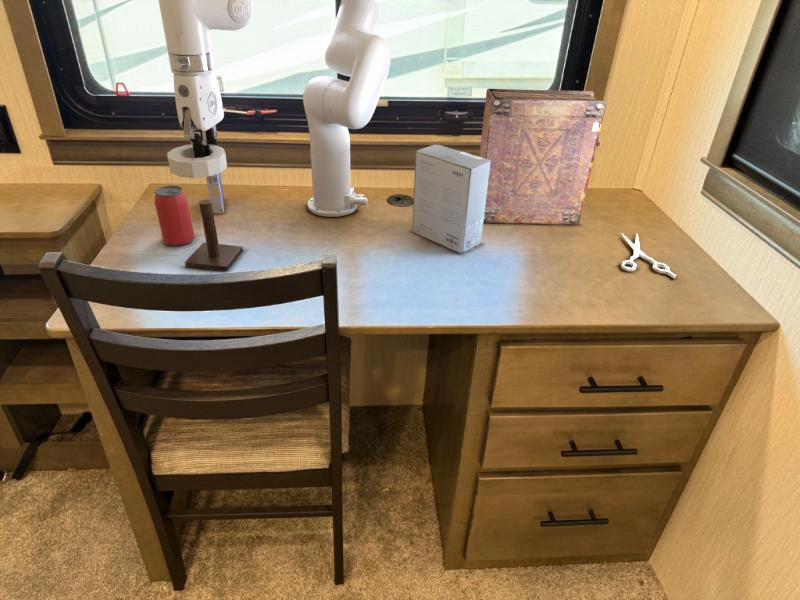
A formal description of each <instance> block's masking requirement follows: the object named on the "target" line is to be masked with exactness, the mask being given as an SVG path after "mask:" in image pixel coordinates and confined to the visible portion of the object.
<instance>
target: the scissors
mask: <svg viewBox="0 0 800 600" xmlns="http://www.w3.org/2000/svg"><path fill="white" fill-rule="evenodd" d="M620 234H621V235H622V237H623V238H624V240H625V241H626V243H627V244H628V246H629V247H630V248H631V249H632V250H633V253H632V256H630V257H629V259H627V260H623V261H622V262H621V264H620V267H621V269H622V270H624V271H625V272H634V271H635V270H636V269H637V263H636V262H634V260H636V259H638V258H642V259H643V260H646V261H648V262H650V264H652V267H651V268H652V269H653V270H654V271H655V272H657V273H660V274H665V275H667V276H669V277H671V278H672V279H675V278H676V277H677V274H676V273H674V272H672V271H671V270H670V267H669V266H668V265H667V264H665V263H663V262H659V261H656V260H654V258H653V257H649V256H648V255H646V254H645V252H643V251H642V250H641V245H640V240H639V235H638V234H636V235H635V240H634V241H635V242H634V243H633V242H632V241H631V240H630V238H629V239H628V237H627V236H626V235H625V234H623V233H622V232H620ZM625 265H628V266H625ZM629 265H630V267H629ZM660 267H661V268H660Z"/></svg>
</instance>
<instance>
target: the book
mask: <svg viewBox="0 0 800 600" xmlns="http://www.w3.org/2000/svg"><path fill="white" fill-rule="evenodd" d="M485 93H486V94H485V101H484V109H483V120H482V129H481V137H480V145H479V154H478V155H479V156H478V157H481V158H484V159H488V160H491V162H490V170H489V178H488V187H487V196H486V204H485V212H484V221H483V224H509V225H510V224H512V225H514V224H515V225H550V226H553V225H554V226H579V225H580V222H581V217H582V212H583V209H584V204H585V199H586V194H587V190H588V187H589V182H590V177H591V173H592V168H593V166H594V165H593V164H594V161H595V160H594V159H595V156H596V151H597V148H598V144H599V143H598V142H599V137H600V134H601V129H602V125H603V121H604V116H605V113H606V109H607V108H606V107H607V102H606V101H604V100H597V98H595V97H594V95H595V93H594V91H591V90H562V89H561V90H555V89H553V90H552V89H550V90H549V89H522V88H521V89H519V88H518V89H517V88H516V89H515V88H487V89H486V92H485Z"/></svg>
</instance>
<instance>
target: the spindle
mask: <svg viewBox="0 0 800 600" xmlns="http://www.w3.org/2000/svg"><path fill="white" fill-rule="evenodd" d="M198 205H199V210H200V216H201V221H202V228H203V233H204V238H205V242H202V243H201V244H200V245H199V247H197V248H196V250H195V251H194V252H193V253H192V254H191V255H190V256H189V257H188V258H187V259H186V260H185V262H184V266H185V268H190V269H197V270H207V271H208V270H209V271H217V272H228V271H229V269H230V268H231V267H232V266H233V265H234V263H235V262H236V261H237V260H238V258H239V257H240V256H241V254H242V253H243V252H244V248H243V246H242V245H232V244H224V243H219V237H218V232H217V227H216V220H215V216H214V214H215V213H213V208H212V202H211V200H210V199H202V200H199V202H198Z"/></svg>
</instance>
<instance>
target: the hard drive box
mask: <svg viewBox="0 0 800 600" xmlns="http://www.w3.org/2000/svg"><path fill="white" fill-rule="evenodd" d="M414 155H415V156H414V179H413V181H414V182H413V205H412V228H411V232H412V233H414V234H417V235H419V236H420V237H423V238H424V239H428V240H430V241H432V242H434V243H437V244H439V245H441V246H442V247H443V246H444V247H446V248H447V249H450V250H452V251H454V252H457V253H459V254H464V253H466V252H467V251H470V250H471V249H473V248H475V247H477V246H478V245H480V244H482V237H483V227H484V223H483V221H484V212H485V204H486V196H487V187H488V178H489V170H490V162H491V160H488V159H484V158H481V157H479V156H478V155H475V154H471V153H468V152H465V151H461V150H458V149H454V148H451V147H448V146H443V145H440V144H437V143H435V144H432V145H429V146H426V147H423V148H421V149H417V150H415V154H414Z"/></svg>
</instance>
